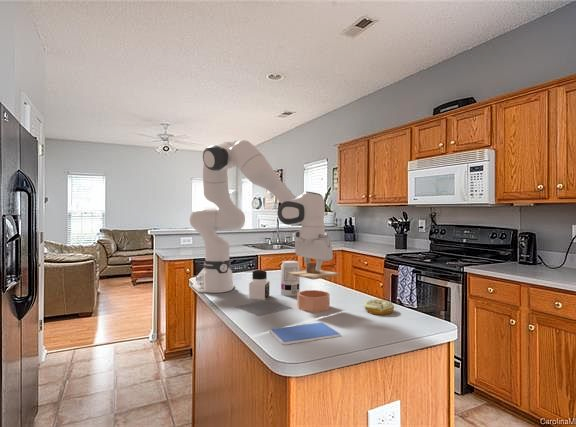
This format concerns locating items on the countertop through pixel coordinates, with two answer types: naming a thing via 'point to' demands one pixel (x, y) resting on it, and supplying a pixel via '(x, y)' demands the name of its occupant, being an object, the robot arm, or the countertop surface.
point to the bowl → (313, 300)
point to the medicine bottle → (259, 285)
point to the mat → (263, 307)
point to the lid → (312, 272)
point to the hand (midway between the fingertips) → (313, 270)
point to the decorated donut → (379, 307)
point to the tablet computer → (303, 333)
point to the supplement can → (289, 278)
